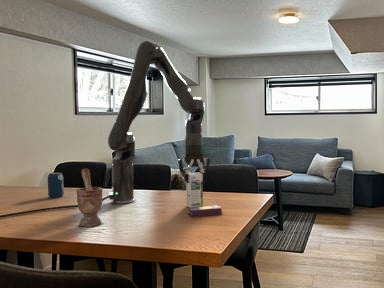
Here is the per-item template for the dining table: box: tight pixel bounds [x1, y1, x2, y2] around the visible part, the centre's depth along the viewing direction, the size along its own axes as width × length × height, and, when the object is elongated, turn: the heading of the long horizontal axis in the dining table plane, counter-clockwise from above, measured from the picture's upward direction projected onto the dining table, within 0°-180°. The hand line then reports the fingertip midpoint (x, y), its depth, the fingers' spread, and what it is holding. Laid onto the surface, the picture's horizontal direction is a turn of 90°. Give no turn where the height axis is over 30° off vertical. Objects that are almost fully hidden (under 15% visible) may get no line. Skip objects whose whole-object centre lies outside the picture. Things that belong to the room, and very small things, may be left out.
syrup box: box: [185, 172, 204, 208], centre depth 167 cm, size 6×6×14 cm
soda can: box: [47, 171, 65, 199], centre depth 192 cm, size 7×7×12 cm
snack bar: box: [188, 205, 222, 218], centre depth 154 cm, size 12×5×3 cm, turn 115°
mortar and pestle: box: [76, 167, 103, 228], centre depth 140 cm, size 12×9×20 cm
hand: (194, 182), depth 167 cm, fingers closed on syrup box, 5 cm apart
